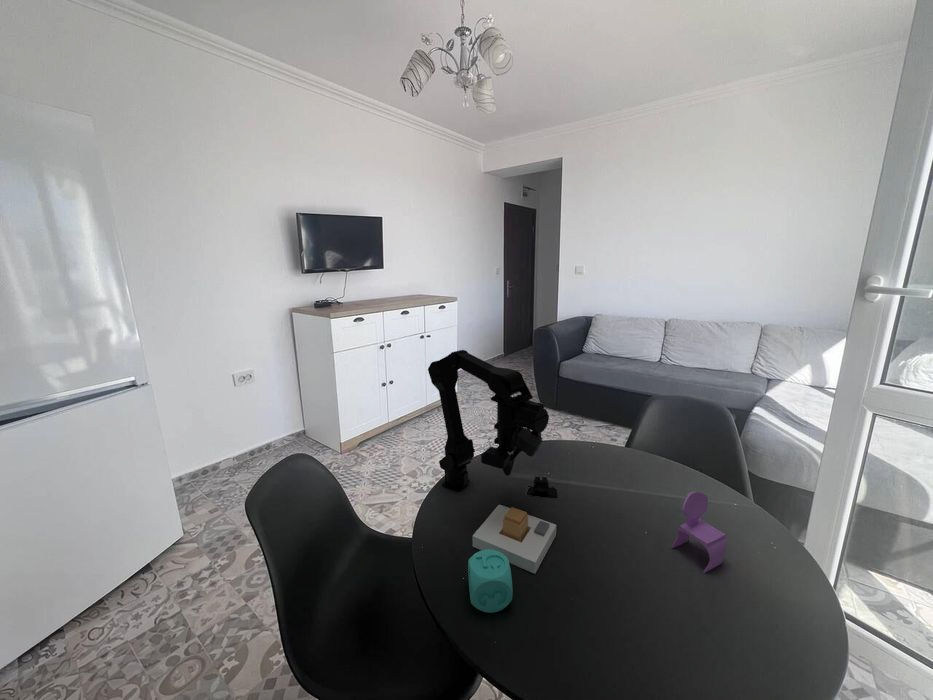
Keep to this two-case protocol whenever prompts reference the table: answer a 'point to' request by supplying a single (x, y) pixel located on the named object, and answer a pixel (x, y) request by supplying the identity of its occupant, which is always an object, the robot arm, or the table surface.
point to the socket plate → (517, 553)
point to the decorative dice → (489, 581)
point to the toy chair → (701, 529)
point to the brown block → (515, 524)
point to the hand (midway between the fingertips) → (507, 474)
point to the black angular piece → (542, 488)
